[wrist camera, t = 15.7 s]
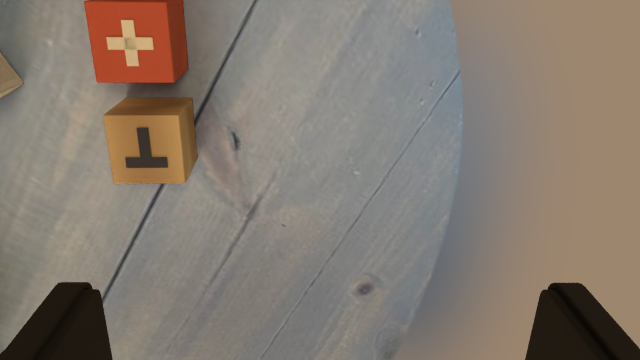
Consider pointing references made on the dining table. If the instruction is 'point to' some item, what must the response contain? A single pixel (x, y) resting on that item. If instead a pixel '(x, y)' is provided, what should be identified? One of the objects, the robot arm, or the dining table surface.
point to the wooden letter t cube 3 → (151, 140)
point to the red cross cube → (137, 40)
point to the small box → (8, 77)
